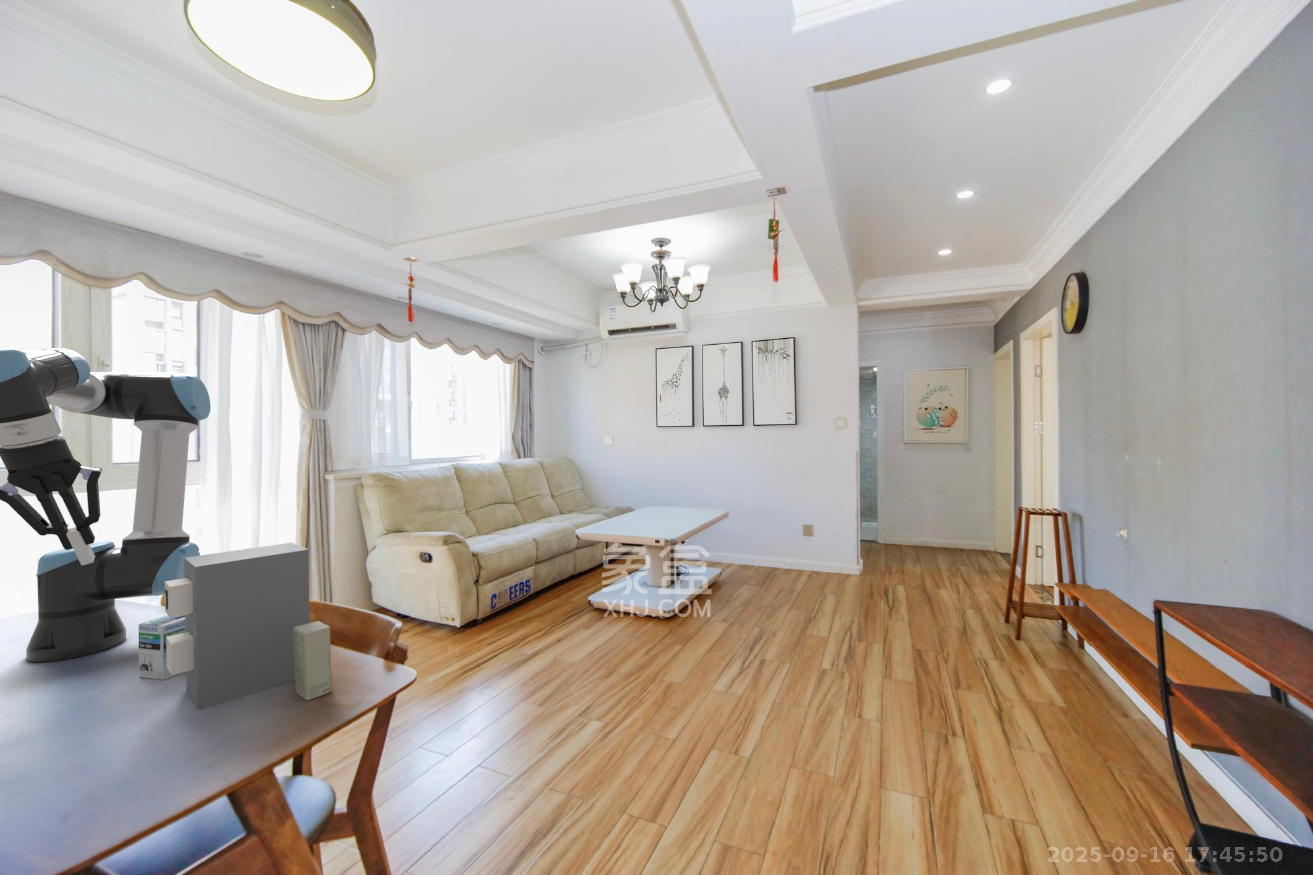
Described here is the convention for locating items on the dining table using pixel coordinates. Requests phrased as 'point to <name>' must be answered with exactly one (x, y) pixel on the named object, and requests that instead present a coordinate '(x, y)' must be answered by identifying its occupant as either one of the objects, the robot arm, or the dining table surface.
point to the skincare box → (312, 659)
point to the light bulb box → (157, 645)
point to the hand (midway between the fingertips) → (88, 560)
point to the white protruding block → (179, 597)
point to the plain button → (180, 653)
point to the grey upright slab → (245, 620)
